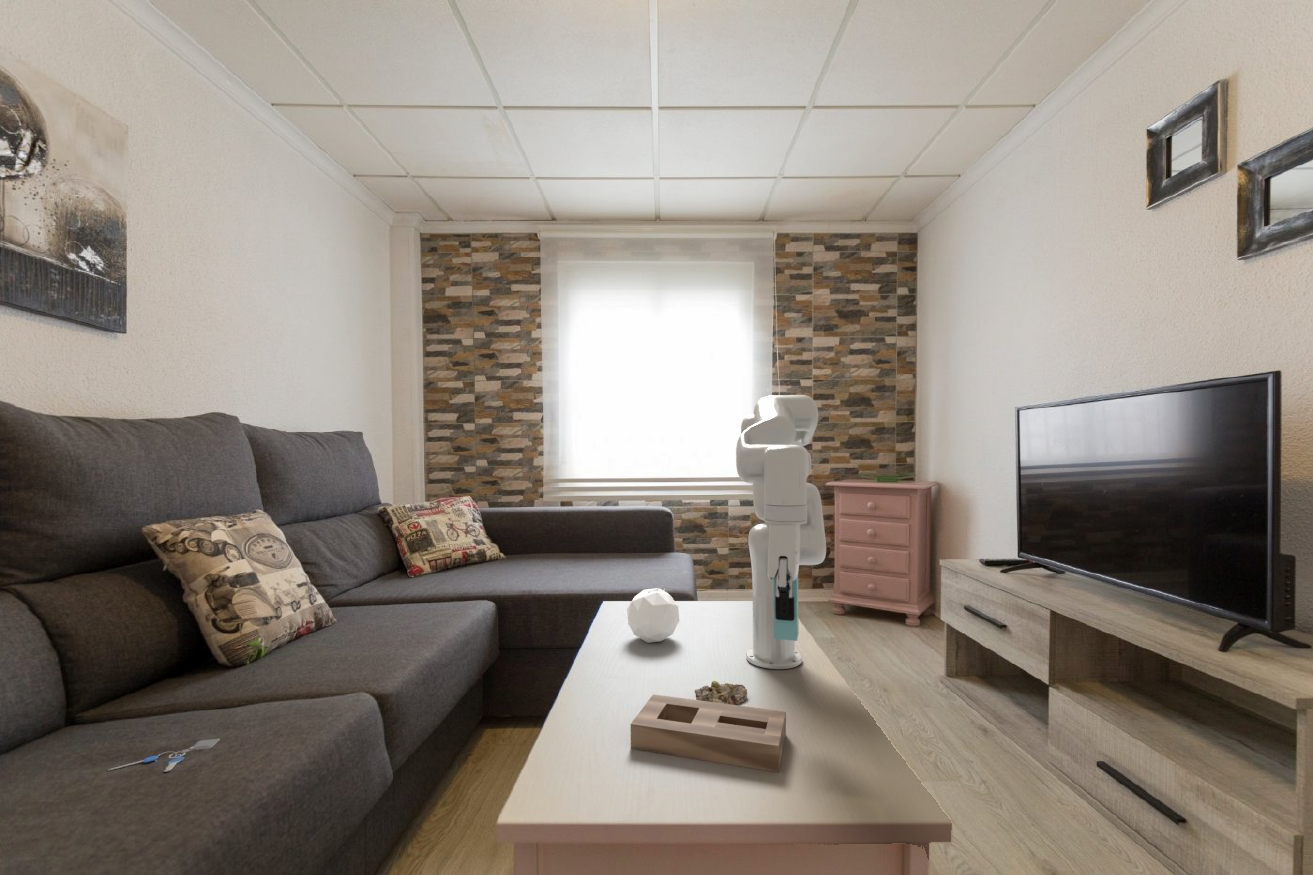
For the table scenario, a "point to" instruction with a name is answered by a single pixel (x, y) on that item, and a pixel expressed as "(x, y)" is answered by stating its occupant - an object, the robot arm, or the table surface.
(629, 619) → the geodesic sphere
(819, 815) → the table surface
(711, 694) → the mineral rock
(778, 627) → the square peg
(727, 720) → the bore board
